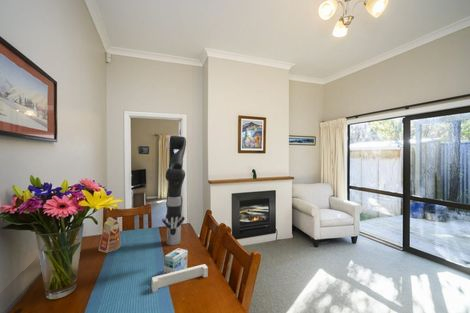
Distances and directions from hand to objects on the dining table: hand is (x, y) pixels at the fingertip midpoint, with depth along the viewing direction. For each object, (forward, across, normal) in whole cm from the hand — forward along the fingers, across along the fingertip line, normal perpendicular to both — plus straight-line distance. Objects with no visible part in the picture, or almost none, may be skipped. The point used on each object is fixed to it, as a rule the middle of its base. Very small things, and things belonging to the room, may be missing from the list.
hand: (172, 234), depth 112 cm
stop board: (+16, 0, +18) cm, 24 cm away
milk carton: (+17, +30, -36) cm, 50 cm away
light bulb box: (+16, +1, +12) cm, 20 cm away
